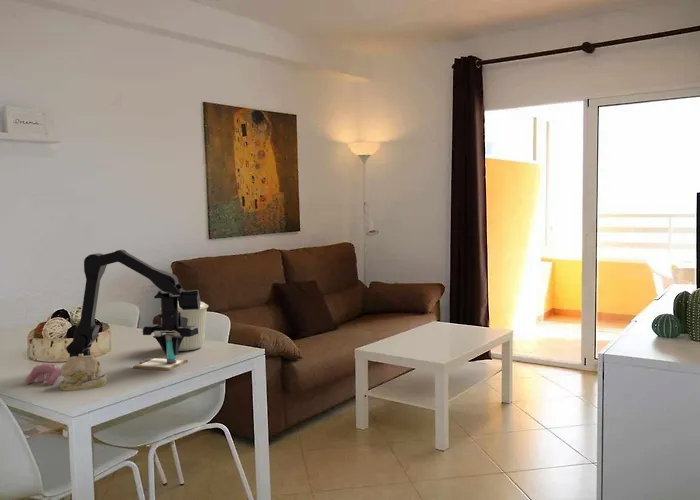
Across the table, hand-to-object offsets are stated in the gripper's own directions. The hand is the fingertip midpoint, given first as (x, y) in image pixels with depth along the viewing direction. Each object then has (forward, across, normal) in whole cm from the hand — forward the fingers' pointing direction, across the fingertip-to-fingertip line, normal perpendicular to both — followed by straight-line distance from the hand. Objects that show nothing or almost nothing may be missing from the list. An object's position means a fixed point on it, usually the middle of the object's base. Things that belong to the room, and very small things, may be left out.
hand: (171, 355), depth 212 cm
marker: (+2, 0, 0) cm, 3 cm away
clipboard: (+4, +4, 0) cm, 5 cm away
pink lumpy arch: (+4, +28, +28) cm, 40 cm away
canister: (+4, +9, -24) cm, 26 cm away
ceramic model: (+4, +14, +28) cm, 31 cm away
